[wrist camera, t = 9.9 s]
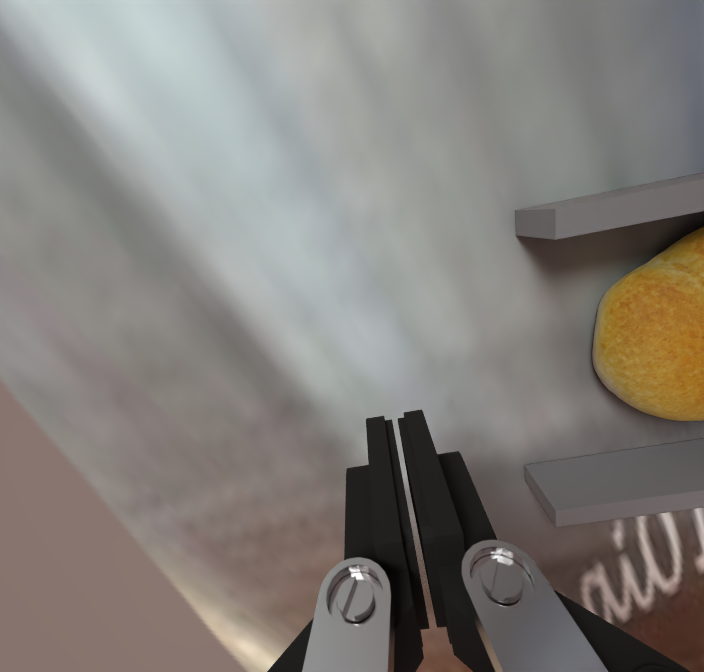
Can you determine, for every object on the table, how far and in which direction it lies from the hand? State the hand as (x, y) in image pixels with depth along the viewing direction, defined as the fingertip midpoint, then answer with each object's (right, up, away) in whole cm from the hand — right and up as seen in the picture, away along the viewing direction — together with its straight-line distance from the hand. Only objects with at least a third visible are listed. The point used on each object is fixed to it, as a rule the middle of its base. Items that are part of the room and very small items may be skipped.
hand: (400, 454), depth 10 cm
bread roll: (+14, +5, +6) cm, 16 cm away
